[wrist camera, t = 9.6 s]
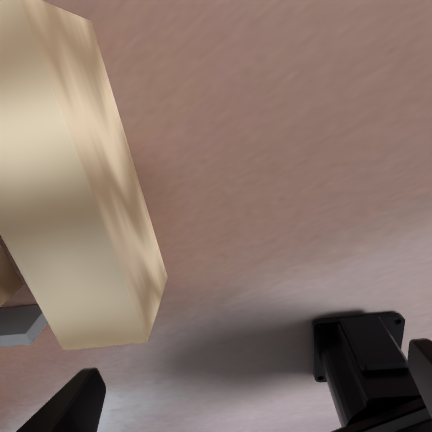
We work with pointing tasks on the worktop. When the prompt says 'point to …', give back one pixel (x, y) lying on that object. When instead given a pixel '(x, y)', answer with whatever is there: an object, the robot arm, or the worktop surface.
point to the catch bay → (20, 325)
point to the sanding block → (72, 183)
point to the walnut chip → (7, 278)
